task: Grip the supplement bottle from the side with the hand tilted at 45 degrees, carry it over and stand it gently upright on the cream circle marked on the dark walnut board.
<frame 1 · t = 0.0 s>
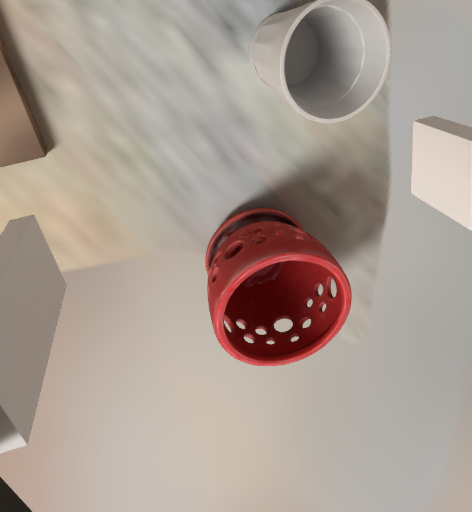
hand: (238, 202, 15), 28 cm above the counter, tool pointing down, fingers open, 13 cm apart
plant pot: (252, 253, 49), on the counter
cup: (281, 51, 39), on the counter
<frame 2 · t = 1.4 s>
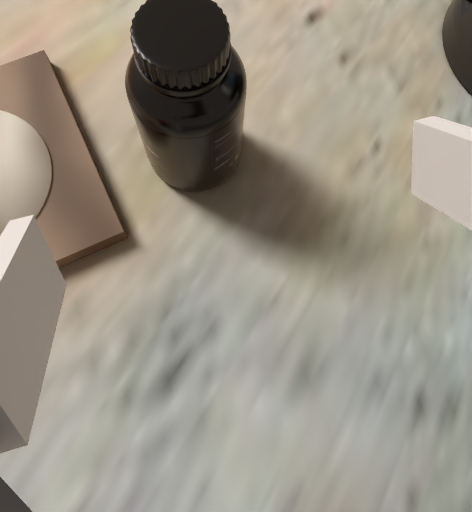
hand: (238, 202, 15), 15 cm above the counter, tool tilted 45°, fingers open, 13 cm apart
supplement bottle: (195, 154, 32), on the counter
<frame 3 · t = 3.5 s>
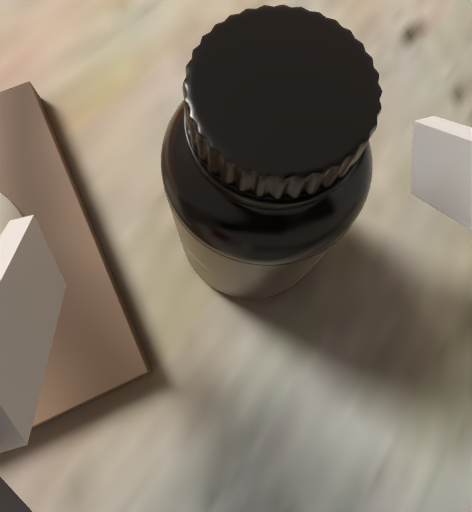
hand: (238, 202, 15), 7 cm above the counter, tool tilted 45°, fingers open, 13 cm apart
supplement bottle: (250, 237, 22), on the counter
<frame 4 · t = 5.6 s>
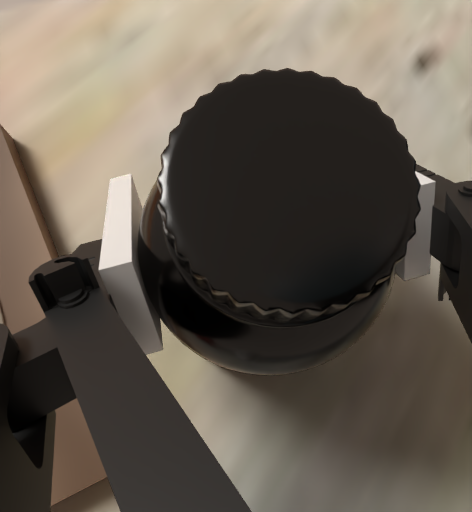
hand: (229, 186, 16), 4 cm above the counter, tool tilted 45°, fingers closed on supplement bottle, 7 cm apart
supplement bottle: (248, 295, 19), on the counter, touching gripper
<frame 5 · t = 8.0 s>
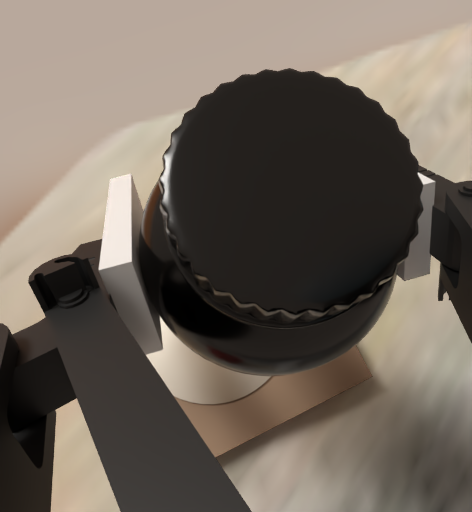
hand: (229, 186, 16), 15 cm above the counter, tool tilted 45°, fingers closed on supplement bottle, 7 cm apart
supplement bottle: (249, 295, 19), point 11 cm above the counter, touching gripper
walnut board: (211, 320, 30), on the counter
when the fingers open (7 cm above the counter, at t = 10.8 s): supplement bottle drops 1 cm, resting on walnut board.
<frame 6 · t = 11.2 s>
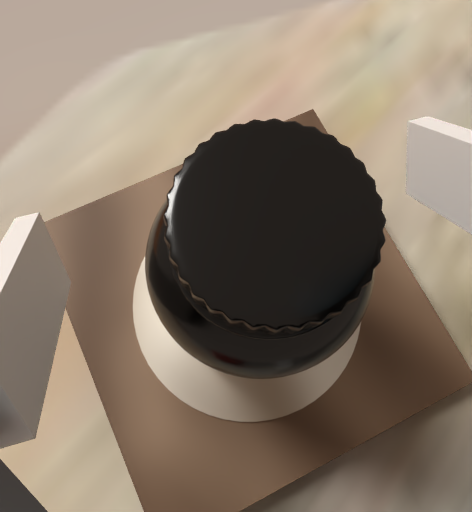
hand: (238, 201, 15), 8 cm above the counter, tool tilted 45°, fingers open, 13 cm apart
supplement bottle: (246, 302, 21), point 1 cm above the counter, touching walnut board
walnut board: (246, 304, 22), on the counter
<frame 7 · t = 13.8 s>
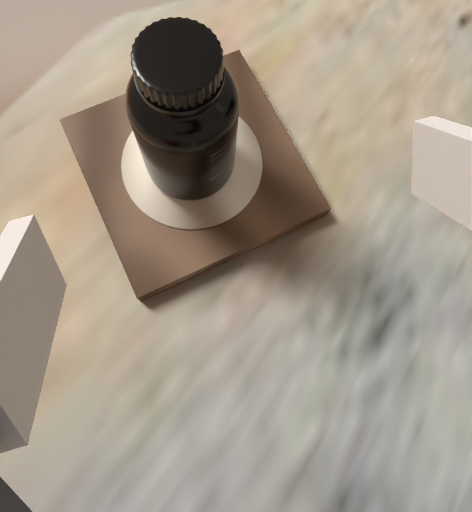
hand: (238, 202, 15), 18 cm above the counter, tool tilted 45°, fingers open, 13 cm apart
supplement bottle: (191, 164, 34), point 1 cm above the counter, touching walnut board
walnut board: (193, 170, 35), on the counter
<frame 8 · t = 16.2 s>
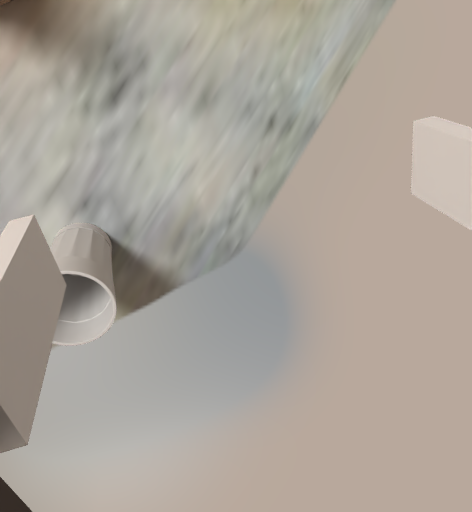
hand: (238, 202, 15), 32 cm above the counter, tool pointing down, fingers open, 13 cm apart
cup: (82, 247, 48), on the counter
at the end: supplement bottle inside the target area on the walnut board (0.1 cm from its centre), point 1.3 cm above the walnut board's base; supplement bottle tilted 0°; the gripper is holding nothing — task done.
